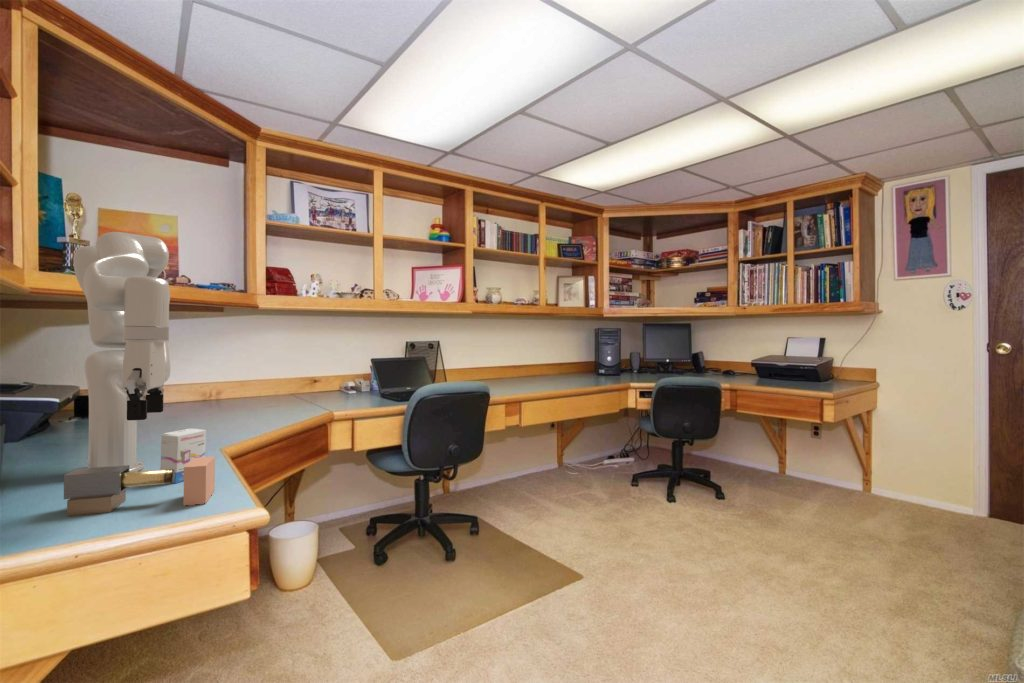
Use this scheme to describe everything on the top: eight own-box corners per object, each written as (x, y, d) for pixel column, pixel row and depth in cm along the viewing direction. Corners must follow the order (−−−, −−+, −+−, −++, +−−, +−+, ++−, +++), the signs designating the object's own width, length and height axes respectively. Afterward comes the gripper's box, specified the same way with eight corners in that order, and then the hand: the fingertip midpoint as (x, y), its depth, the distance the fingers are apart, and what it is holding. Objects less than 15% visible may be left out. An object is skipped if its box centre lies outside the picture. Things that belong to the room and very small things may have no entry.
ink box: (176, 484, 112) (177, 435, 112) (159, 482, 113) (159, 434, 113) (206, 474, 121) (206, 428, 121) (190, 472, 122) (190, 427, 122)
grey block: (60, 516, 91) (60, 476, 91) (78, 504, 98) (79, 467, 98) (117, 511, 95) (117, 472, 95) (131, 500, 101) (131, 463, 101)
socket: (183, 506, 98) (183, 467, 98) (194, 493, 106) (194, 457, 106) (205, 503, 100) (206, 465, 100) (214, 492, 107) (215, 456, 107)
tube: (75, 492, 94) (75, 477, 94) (83, 488, 97) (83, 473, 97) (170, 484, 99) (170, 470, 99) (175, 480, 102) (175, 467, 102)
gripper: (140, 335, 105) (140, 410, 106) (106, 335, 89) (105, 424, 89) (180, 335, 108) (179, 409, 108) (153, 335, 92) (152, 422, 92)
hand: (145, 415), depth 99 cm, fingers open, 9 cm apart
